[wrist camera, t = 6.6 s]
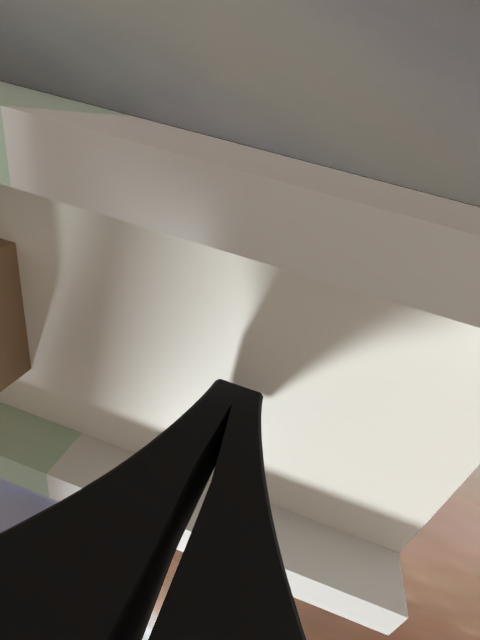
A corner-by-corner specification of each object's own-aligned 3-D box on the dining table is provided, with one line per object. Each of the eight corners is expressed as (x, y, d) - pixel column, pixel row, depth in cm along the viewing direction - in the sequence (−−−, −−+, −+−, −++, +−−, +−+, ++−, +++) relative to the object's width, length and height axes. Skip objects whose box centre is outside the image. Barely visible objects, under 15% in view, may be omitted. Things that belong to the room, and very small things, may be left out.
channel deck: (-187, 296, 20) (-334, 342, 15) (-333, -7, 13) (-666, -76, 9) (375, 501, 16) (388, 635, 12) (570, 231, 9) (762, 312, 5)
